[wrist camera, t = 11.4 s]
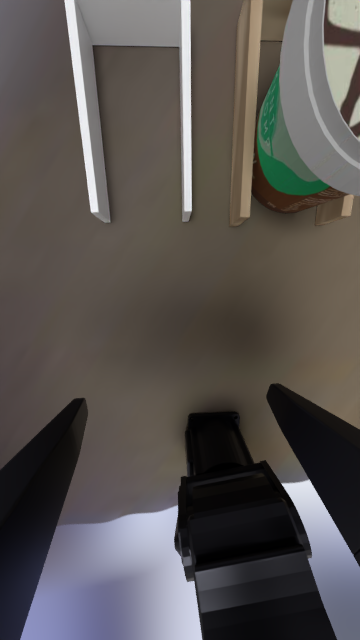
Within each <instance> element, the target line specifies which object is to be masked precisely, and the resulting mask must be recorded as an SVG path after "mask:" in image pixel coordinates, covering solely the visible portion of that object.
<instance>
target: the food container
mask: <svg viewBox="0 0 360 640" xmlns="http://www.w3.org/2000/svg"><path fill="white" fill-rule="evenodd" d="M251 192H252V194H253V195H254V197H255V198H256V199H257V200H258V201H259V202H260V203H261V204H262V205H264V206H265V207H267V208H269V209H271V210H273V211H276V212H280V213H296V212H299V211H302V210H305V209H308V208H311V207H314V206H317V205H320V204H323V203H326V202H329V201H332V200H335V199H338V198H341V197H344V196H347V195H350V194H351V195H358V196H360V0H293V2H292V5H291V9H290V12H289V16H288V19H287V23H286V26H285V30H284V36H283V42H282V48H281V54H280V65H279V67H278V70H277V72H276V74H275V77H274V79H273V81H272V84H271V86H270V88H269V90H268V93H267V95H266V97H265V100H264V102H263V104H262V107H261V109H260V111H259V113H258V116H257V118H256V120H255V137H254V153H253V169H252V186H251Z"/></svg>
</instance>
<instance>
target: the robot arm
mask: <svg viewBox="0 0 360 640" xmlns="http://www.w3.org/2000/svg"><path fill="white" fill-rule="evenodd" d="M266 398H267V401H268V403H269V405H270V408H271V410H272V412H273V414H274V416H275V418H276V420H277V423H278V425H279V427H280V429H281V431H282V432H283V434H284V436H285V438H286V439H287V441H288V443H289V445H290V446H291V448H292V450H293V452H294V453H295V455H296V457H297V459H298V460H299V462H300V464H301V465H302V467H303V469H304V471H305V472H306V474H307V476H308V478H309V479H310V481H311V483H312V485H313V486H314V488H315V490H316V491H317V493H318V495H319V497H320V498H321V500H322V502H323V503H324V505H325V507H326V509H327V510H328V512H329V514H330V516H331V517H332V519H333V521H334V523H335V524H336V526H337V528H338V529H339V531H340V533H341V535H342V536H343V538H344V540H345V542H346V543H347V545H348V547H349V549H350V550H351V552H352V554H354V557H355V559H356V561H357V563H358V564H359V566H360V430H359V429H358V428H356V427H354V426H352V425H351V424H349V423H347V422H346V421H344V420H342V419H340V418H339V417H337V416H335V415H333V414H332V413H330V412H328V411H326V410H325V409H323V408H321V407H319V406H318V405H316V404H314V403H312V402H311V401H309V400H307V399H305V398H304V397H302V396H300V395H298V394H297V393H295V392H293V391H291V390H290V389H288V388H286V387H284V386H283V385H281V384H278V383H276V384H271V385H270V387H269V389H268V392H267V395H266ZM87 416H88V410H87V404H86V400H85V398H76V399H74V400H72V401H71V402H70V403H69V404H68V405H67V406H66V407H65V408H64V409H63V410H62V411H61V412H60V413H59V414H58V415H57V416H56V417H55V418H54V419H53V420H52V421H51V422H50V423H48V424H47V425H46V426H45V427H44V428H43V429H42V430H41V431H40V432H39V433H38V434H37V435H36V436H35V437H34V438H33V439H32V440H31V441H30V442H29V443H28V444H27V445H26V446H25V447H24V448H23V449H21V450H20V451H19V452H18V453H17V454H16V455H15V456H14V457H13V458H12V459H11V460H10V461H9V462H8V463H7V464H6V465H5V466H4V467H3V468H2V469H1V470H0V640H20V638H21V635H22V632H23V628H24V625H25V622H26V619H27V616H28V613H29V610H30V607H31V604H32V601H33V598H34V594H35V591H36V588H37V585H38V582H39V579H40V576H41V573H42V569H43V567H44V563H45V560H46V557H47V554H48V551H49V548H50V545H51V541H52V539H53V535H54V532H55V529H56V526H57V523H58V520H59V517H60V514H61V511H62V507H63V504H64V501H65V498H66V495H67V492H68V489H69V486H70V483H71V480H72V476H73V473H74V470H75V467H76V464H77V461H78V457H79V454H80V449H81V445H82V440H83V435H84V431H85V426H86V421H87ZM234 416H236V417H234ZM191 418H193V419H191ZM239 419H240V417H239V414H238V413H237V412H223V413H203V414H190V415H189V416H188V430H186V431H185V451H186V464H187V477H186V476H183V477H181V486H179V492H178V518H177V525H176V531H175V537H174V542H175V549H176V551H177V552H178V553H179V555H180V556H181V559H182V564H183V566H184V571H185V576H186V580H187V582H189V581H195V588H196V596H197V603H198V610H199V618H200V625H201V632H202V639H203V640H337V639H336V636H335V633H334V631H333V628H332V626H331V623H330V620H329V618H328V616H327V613H326V610H325V608H324V605H323V603H322V600H321V597H320V594H319V591H318V588H317V585H316V582H315V579H314V576H313V573H312V570H311V567H310V564H309V561H308V558H311V557H312V552H311V547H310V543H309V540H308V537H307V533H306V531H305V528H304V525H303V523H302V521H301V519H300V516H299V514H298V512H297V510H296V507H295V506H294V503H293V502H292V500H291V498H290V497H289V495H288V493H287V492H286V490H285V489H284V487H283V486H282V484H281V483H280V481H279V480H278V478H277V477H276V475H275V474H274V472H273V471H272V469H271V468H270V466H269V465H268V463H267V462H266V460H264V461H260V463H255V464H254V461H253V459H252V457H251V454H250V452H249V450H248V448H247V445H246V443H245V441H244V438H243V436H242V434H241V432H240V429H239Z"/></svg>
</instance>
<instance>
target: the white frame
mask: <svg viewBox="0 0 360 640" xmlns="http://www.w3.org/2000/svg"><path fill="white" fill-rule="evenodd" d="M65 7H66V15H67V23H68V31H69V39H70V47H71V55H72V63H73V71H74V79H75V87H76V95H77V103H78V111H79V119H80V127H81V135H82V143H83V151H84V159H85V167H86V175H87V183H88V191H89V199H90V207H91V213H93V214H94V215H95V216H96V217H98V218H99V219H100V220H102V221H103V222H104V223H111V221H110V211H109V201H108V192H107V182H106V172H105V163H104V153H103V143H102V134H101V124H100V114H99V105H98V95H97V85H96V76H95V66H94V56H93V47H92V45H111V46H160V47H179V56H180V112H181V167H182V222H189V219H190V215H191V212H192V182H191V40H190V0H65Z"/></svg>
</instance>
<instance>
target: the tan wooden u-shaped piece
mask: <svg viewBox="0 0 360 640" xmlns="http://www.w3.org/2000/svg"><path fill="white" fill-rule="evenodd" d="M292 2H293V0H244V2H243V5H242V9H241V13H240V17H239V21H238V25H237V39H236V65H235V92H234V118H233V145H232V171H231V197H230V224H229V227H234V226H239V225H240V224H241V223H243V222H244V221H245V220H247V219H248V218H249V217H250V202H251V186H252V169H253V153H254V137H255V120H256V104H257V88H258V71H259V55H260V40H263V41H283V36H284V30H285V26H286V23H287V19H288V16H289V12H290V9H291V5H292ZM353 198H354V195H351V194H350V195H347V196H344V197H341V198H338V199H335V200H332V201H329V202H326V203H323V204H320V205H318V206H317V213H316V220H315V225H325V224H328V223H331V222H334V221H337V220H340V219H343V218H346V217H349V216H350V215H351V209H352V203H353Z"/></svg>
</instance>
